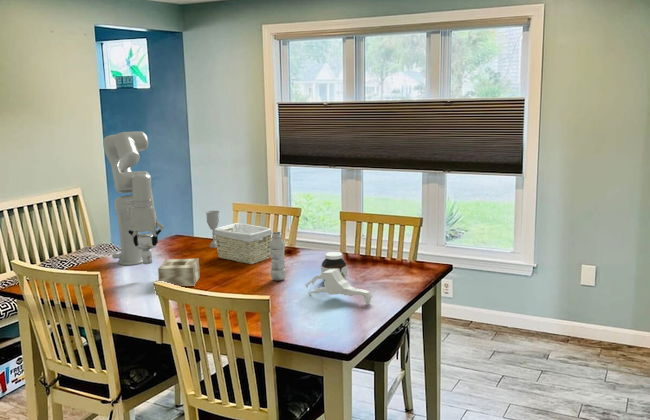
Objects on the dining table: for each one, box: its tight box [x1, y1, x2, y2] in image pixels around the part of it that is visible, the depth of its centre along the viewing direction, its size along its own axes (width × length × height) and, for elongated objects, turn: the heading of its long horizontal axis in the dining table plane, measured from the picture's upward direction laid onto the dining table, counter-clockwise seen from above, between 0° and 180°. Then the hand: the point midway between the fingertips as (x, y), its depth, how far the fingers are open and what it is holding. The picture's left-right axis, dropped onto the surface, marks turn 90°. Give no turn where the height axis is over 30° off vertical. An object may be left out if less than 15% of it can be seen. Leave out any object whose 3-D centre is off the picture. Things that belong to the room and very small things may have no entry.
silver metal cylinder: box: [137, 232, 156, 265], centre depth 257 cm, size 7×7×12 cm
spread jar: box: [320, 251, 348, 282], centre depth 251 cm, size 12×11×12 cm
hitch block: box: [157, 257, 201, 287], centre depth 254 cm, size 14×14×8 cm
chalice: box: [204, 210, 220, 248], centre depth 312 cm, size 7×7×18 cm
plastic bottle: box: [270, 231, 287, 281], centre depth 252 cm, size 6×7×20 cm
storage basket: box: [214, 222, 273, 265], centre depth 288 cm, size 24×16×15 cm
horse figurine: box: [305, 269, 373, 306], centre depth 228 cm, size 5×16×25 cm
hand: (146, 244), depth 257 cm, fingers closed on silver metal cylinder, 7 cm apart
